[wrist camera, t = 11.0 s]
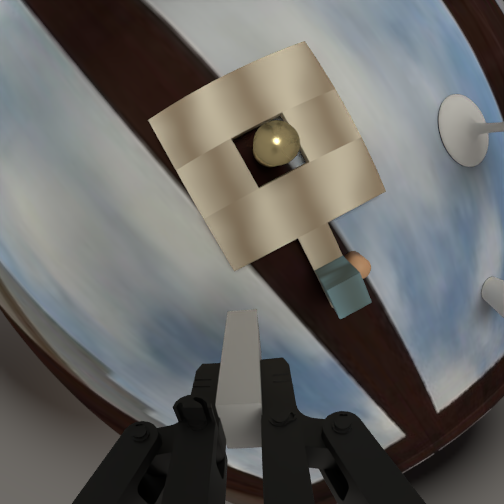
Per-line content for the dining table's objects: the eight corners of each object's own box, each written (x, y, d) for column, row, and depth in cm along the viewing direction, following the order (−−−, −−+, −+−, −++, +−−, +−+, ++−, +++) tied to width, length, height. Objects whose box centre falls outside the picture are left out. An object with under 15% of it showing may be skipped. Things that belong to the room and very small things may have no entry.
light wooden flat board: (273, 328, 30) (277, 365, 24) (153, 122, 25) (127, 110, 18) (404, 258, 28) (435, 279, 22) (301, 47, 23) (314, 18, 16)
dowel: (340, 266, 29) (348, 275, 26) (347, 248, 28) (356, 255, 26) (356, 272, 29) (365, 281, 26) (364, 254, 28) (374, 262, 26)
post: (248, 161, 26) (247, 156, 18) (259, 131, 25) (262, 114, 17) (279, 171, 26) (291, 171, 18) (290, 141, 25) (306, 129, 18)
